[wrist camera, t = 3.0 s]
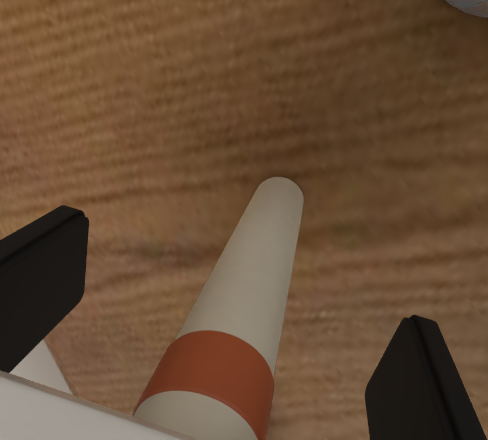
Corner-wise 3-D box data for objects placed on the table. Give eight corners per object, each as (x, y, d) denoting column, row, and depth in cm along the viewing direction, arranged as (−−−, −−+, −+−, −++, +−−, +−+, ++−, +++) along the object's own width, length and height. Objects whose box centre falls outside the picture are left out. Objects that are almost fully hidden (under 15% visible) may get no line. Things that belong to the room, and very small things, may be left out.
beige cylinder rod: (311, 184, 18) (268, 496, 5) (296, 230, 19) (229, 581, 6) (260, 169, 18) (100, 433, 5) (248, 215, 19) (90, 525, 6)
